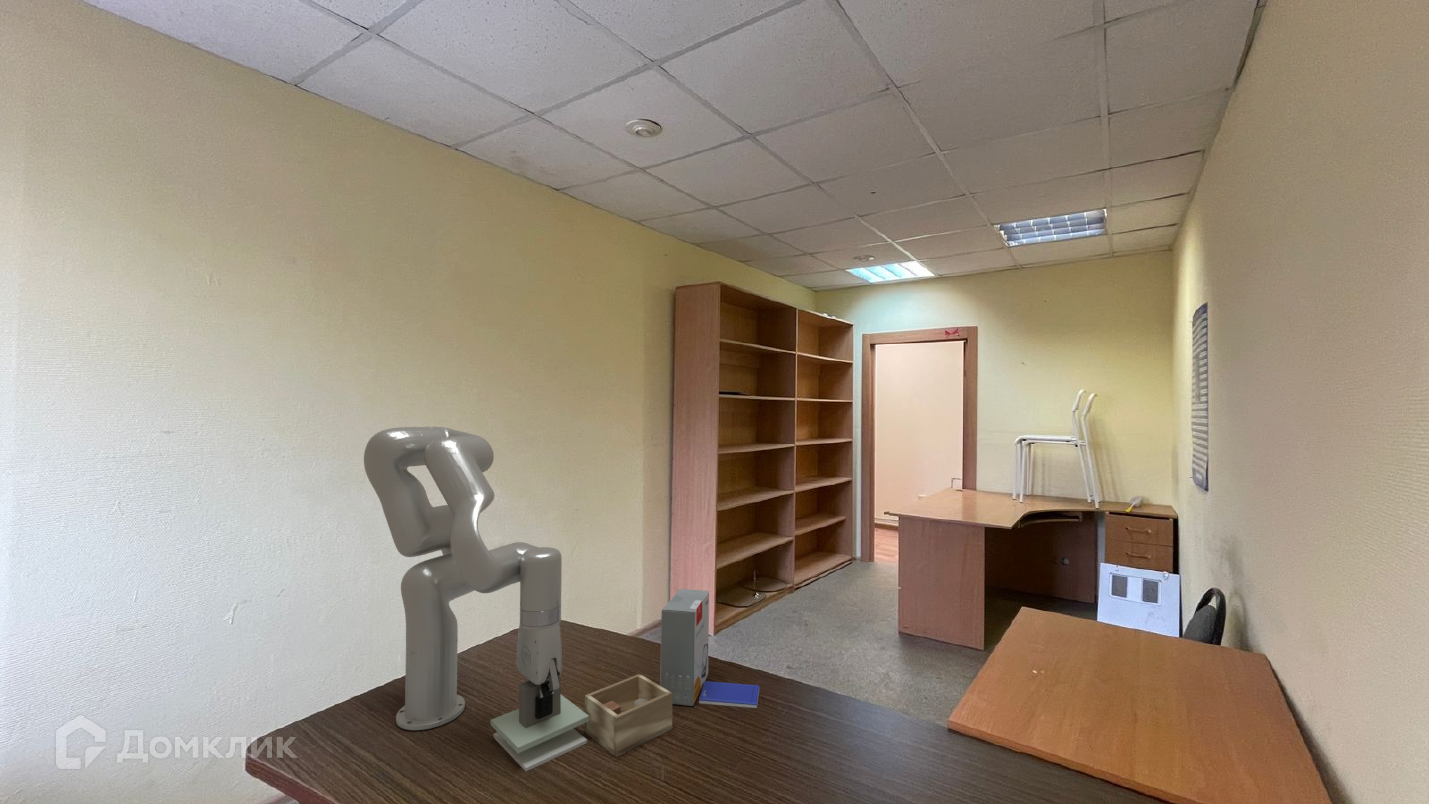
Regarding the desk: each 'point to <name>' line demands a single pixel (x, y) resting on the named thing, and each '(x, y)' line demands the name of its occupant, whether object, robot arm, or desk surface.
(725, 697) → the hard drive
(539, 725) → the lid
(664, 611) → the hard drive box
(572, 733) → the mat
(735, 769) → the desk surface
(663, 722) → the crate
